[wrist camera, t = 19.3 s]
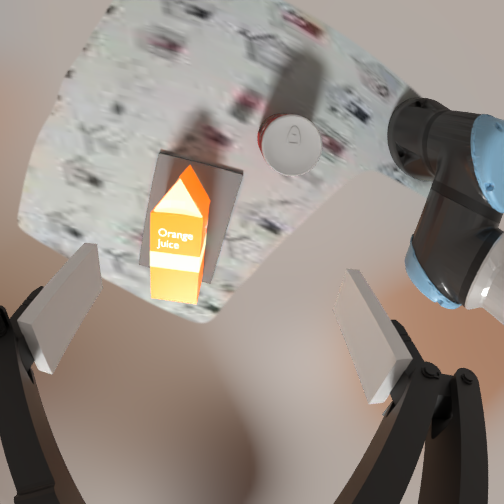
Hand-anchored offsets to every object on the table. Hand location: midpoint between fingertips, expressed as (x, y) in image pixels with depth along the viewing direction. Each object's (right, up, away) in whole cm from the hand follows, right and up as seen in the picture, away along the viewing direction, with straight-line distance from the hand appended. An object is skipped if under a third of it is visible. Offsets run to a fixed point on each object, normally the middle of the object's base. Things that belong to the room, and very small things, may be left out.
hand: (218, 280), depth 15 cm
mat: (-10, +7, +35) cm, 37 cm away
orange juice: (-11, -5, +35) cm, 37 cm away
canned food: (+6, +19, +30) cm, 36 cm away
